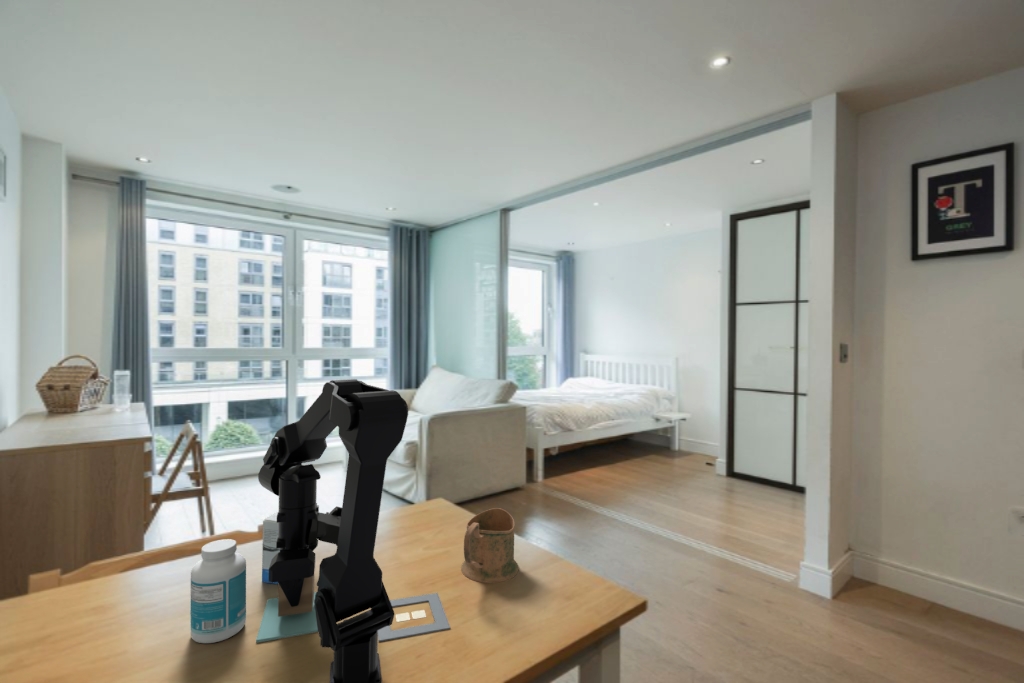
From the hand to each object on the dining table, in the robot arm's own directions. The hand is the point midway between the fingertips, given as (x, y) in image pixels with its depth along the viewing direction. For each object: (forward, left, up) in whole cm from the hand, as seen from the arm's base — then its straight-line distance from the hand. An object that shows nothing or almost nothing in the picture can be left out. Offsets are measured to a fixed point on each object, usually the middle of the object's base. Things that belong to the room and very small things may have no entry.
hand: (296, 597), depth 80 cm
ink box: (+16, +3, -3) cm, 17 cm away
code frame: (-6, -18, -3) cm, 19 cm away
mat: (0, 0, -3) cm, 3 cm away
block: (0, 0, -1) cm, 1 cm away
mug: (+4, -33, -3) cm, 34 cm away
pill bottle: (-1, +11, -3) cm, 11 cm away
